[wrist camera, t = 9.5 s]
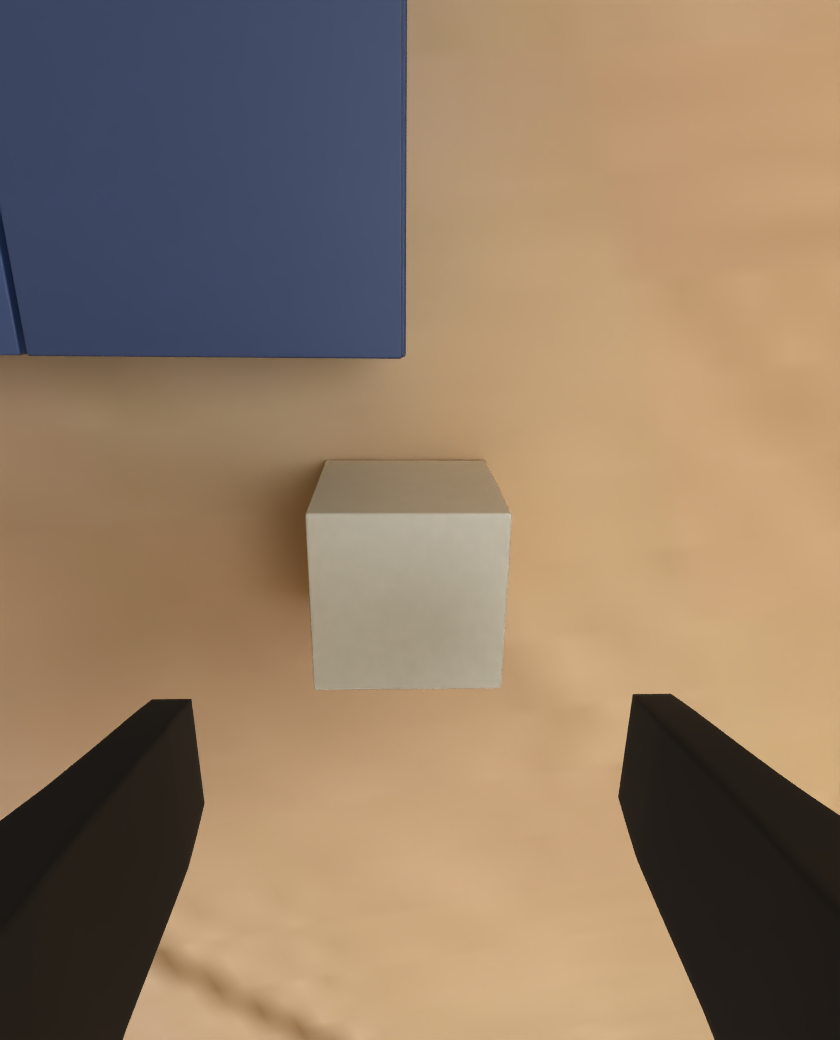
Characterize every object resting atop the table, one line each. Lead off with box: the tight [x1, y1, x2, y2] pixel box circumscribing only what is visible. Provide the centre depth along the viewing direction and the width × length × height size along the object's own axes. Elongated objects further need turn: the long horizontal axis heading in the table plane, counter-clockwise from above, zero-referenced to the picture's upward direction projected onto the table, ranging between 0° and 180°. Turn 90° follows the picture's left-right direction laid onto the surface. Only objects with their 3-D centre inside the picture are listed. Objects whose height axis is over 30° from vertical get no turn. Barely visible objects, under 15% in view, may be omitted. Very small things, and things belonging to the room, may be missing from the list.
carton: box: [0, 0, 407, 359], centre depth 13 cm, size 12×14×6 cm
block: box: [305, 460, 512, 690], centre depth 17 cm, size 4×4×4 cm
